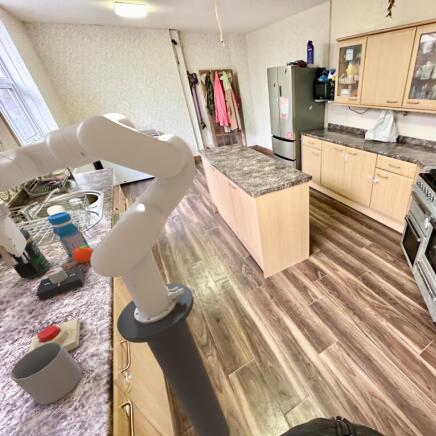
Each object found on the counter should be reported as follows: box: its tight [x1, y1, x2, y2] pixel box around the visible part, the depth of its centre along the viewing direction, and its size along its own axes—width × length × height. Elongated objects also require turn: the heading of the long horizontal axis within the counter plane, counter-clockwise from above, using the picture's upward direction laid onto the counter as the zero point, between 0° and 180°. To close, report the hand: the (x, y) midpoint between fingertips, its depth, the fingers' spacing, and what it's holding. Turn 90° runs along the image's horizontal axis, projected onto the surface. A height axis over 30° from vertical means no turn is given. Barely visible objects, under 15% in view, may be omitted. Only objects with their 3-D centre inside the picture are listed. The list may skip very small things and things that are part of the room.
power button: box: [37, 324, 60, 342], centre depth 64 cm, size 4×4×2 cm
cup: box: [9, 342, 83, 406], centre depth 54 cm, size 8×8×10 cm
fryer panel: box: [35, 266, 86, 301], centre depth 87 cm, size 12×9×3 cm
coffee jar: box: [18, 228, 51, 280], centre depth 92 cm, size 10×8×19 cm
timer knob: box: [45, 266, 68, 284], centre depth 86 cm, size 4×4×4 cm
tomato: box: [72, 244, 94, 264], centre depth 100 cm, size 8×7×7 cm
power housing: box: [27, 317, 81, 353], centre depth 65 cm, size 10×10×4 cm
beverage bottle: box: [47, 211, 91, 260], centre depth 102 cm, size 8×8×20 cm
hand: (30, 274), depth 63 cm, fingers closed
